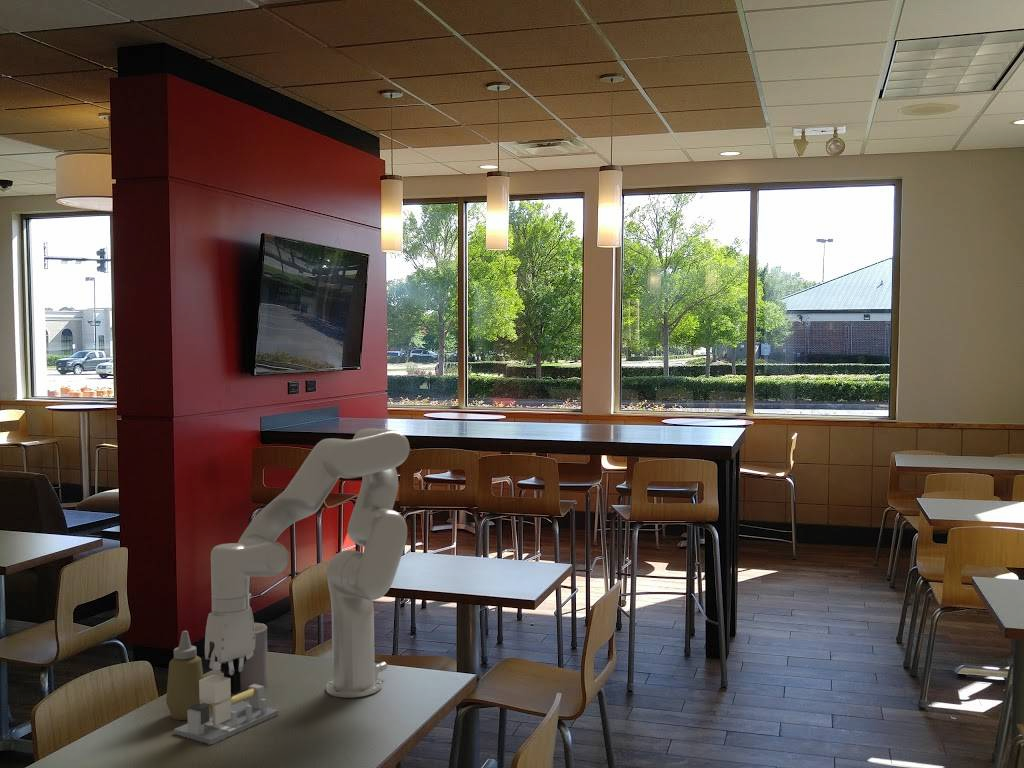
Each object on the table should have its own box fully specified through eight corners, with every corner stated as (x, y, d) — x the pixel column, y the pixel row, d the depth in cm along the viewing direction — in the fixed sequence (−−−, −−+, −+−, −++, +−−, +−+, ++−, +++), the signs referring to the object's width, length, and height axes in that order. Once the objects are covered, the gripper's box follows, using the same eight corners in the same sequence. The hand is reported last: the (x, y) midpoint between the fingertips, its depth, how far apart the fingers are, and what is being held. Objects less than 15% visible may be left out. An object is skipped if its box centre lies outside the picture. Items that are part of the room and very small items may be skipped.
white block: (215, 714, 193) (214, 674, 192) (231, 718, 190) (230, 678, 190) (199, 720, 189) (199, 680, 189) (215, 724, 187) (214, 684, 187)
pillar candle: (215, 689, 213) (214, 624, 213) (248, 676, 222) (247, 614, 221) (245, 697, 208) (244, 631, 208) (277, 684, 217) (276, 620, 216)
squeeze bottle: (193, 723, 193) (191, 637, 192) (158, 721, 194) (156, 636, 194) (213, 709, 201) (211, 627, 200) (179, 707, 202) (178, 625, 202)
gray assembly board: (242, 705, 203) (242, 677, 203) (278, 714, 197) (278, 686, 197) (173, 733, 187) (173, 704, 187) (210, 744, 182) (210, 714, 182)
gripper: (245, 594, 201) (247, 677, 202) (189, 609, 189) (191, 699, 189) (270, 598, 197) (271, 683, 198) (214, 614, 185) (216, 706, 185)
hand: (232, 691), depth 193 cm, fingers closed
